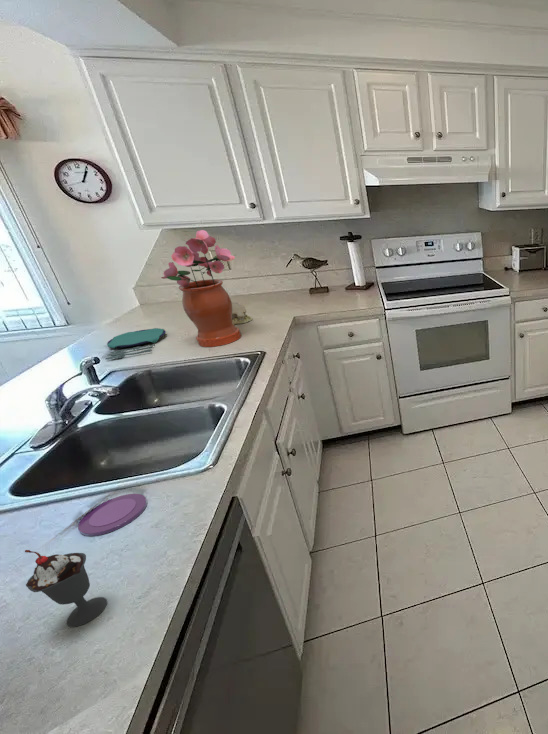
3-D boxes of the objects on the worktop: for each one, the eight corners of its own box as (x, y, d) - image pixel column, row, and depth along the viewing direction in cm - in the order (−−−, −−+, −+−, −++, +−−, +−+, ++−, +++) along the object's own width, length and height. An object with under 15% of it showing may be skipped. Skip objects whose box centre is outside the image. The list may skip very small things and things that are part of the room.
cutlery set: (171, 329, 189) (169, 324, 188) (157, 352, 165) (155, 347, 164) (116, 338, 181) (114, 333, 180) (93, 363, 157) (91, 358, 156)
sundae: (60, 611, 68) (11, 547, 62) (113, 585, 72) (72, 523, 66) (57, 642, 64) (4, 576, 57) (114, 613, 67) (70, 549, 61)
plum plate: (64, 535, 82) (62, 532, 82) (114, 495, 92) (112, 492, 92) (114, 537, 82) (112, 534, 81) (160, 497, 91) (158, 493, 91)
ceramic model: (249, 315, 204) (243, 296, 200) (254, 321, 197) (248, 301, 192) (216, 322, 196) (209, 302, 192) (220, 328, 188) (213, 308, 184)
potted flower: (260, 339, 175) (227, 230, 156) (188, 355, 162) (143, 238, 143) (253, 327, 189) (223, 225, 170) (187, 340, 176) (146, 232, 157)
